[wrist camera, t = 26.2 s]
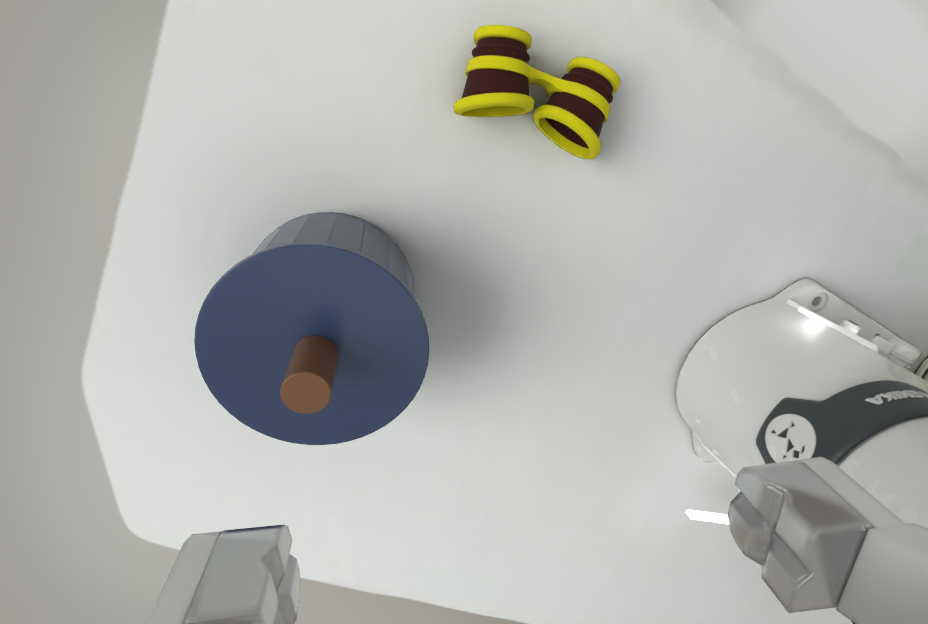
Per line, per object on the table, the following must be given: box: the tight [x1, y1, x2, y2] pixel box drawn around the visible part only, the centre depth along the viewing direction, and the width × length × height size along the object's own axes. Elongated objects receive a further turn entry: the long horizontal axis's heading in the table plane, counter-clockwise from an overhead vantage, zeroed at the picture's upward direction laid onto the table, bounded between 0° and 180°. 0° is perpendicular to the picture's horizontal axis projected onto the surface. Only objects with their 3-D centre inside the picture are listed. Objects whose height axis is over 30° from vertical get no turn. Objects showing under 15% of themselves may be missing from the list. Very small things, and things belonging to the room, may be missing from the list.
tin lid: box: [195, 242, 429, 445], centre depth 27 cm, size 13×13×5 cm
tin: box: [252, 212, 416, 299], centre depth 32 cm, size 12×12×9 cm
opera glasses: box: [454, 25, 620, 160], centre depth 31 cm, size 10×5×5 cm, turn 72°
